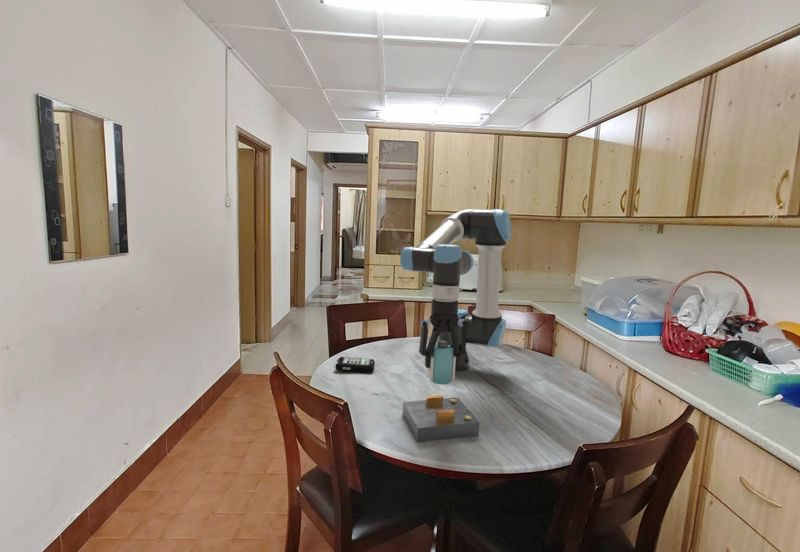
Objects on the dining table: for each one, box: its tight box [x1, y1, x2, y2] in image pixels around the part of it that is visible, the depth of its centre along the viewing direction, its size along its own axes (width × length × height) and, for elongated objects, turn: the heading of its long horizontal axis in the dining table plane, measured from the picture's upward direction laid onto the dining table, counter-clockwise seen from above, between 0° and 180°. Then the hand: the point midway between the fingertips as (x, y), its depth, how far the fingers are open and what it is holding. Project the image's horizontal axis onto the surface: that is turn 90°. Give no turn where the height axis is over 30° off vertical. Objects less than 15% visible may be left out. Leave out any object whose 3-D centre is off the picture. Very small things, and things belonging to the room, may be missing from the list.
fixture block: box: [402, 394, 480, 443], centre depth 119 cm, size 18×16×6 cm
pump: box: [430, 340, 453, 385], centre depth 117 cm, size 6×6×12 cm
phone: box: [335, 356, 376, 374], centre depth 161 cm, size 11×15×4 cm
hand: (440, 377), depth 117 cm, fingers closed on pump, 6 cm apart
